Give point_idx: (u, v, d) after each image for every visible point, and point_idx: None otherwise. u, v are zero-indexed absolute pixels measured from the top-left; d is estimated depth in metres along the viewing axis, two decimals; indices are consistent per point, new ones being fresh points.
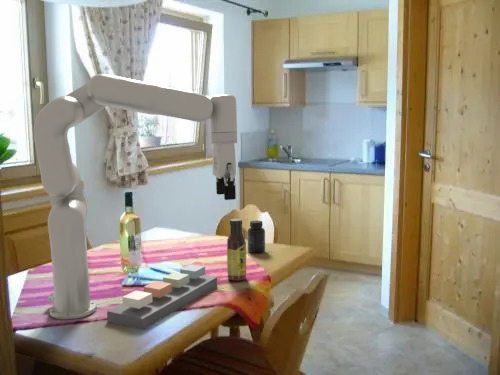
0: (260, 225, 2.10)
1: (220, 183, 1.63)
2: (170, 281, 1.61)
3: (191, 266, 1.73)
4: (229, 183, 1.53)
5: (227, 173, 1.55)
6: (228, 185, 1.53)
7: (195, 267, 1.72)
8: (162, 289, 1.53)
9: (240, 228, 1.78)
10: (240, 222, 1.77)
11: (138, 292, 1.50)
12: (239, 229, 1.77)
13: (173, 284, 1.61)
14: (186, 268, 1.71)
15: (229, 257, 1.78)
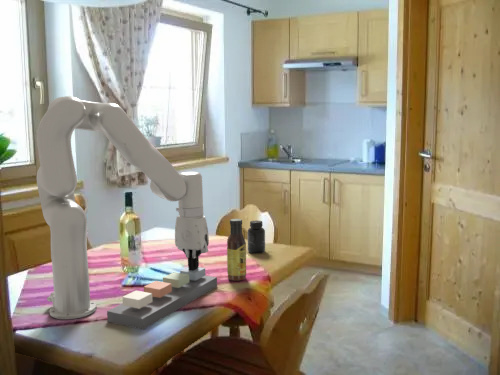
0: (260, 225, 2.10)
1: None
2: (170, 281, 1.61)
3: None
4: (198, 255, 1.69)
5: None
6: None
7: None
8: (162, 289, 1.53)
9: (240, 228, 1.78)
10: (240, 222, 1.77)
11: (138, 292, 1.50)
12: (239, 229, 1.77)
13: (173, 284, 1.61)
14: (186, 270, 1.71)
15: (229, 257, 1.78)
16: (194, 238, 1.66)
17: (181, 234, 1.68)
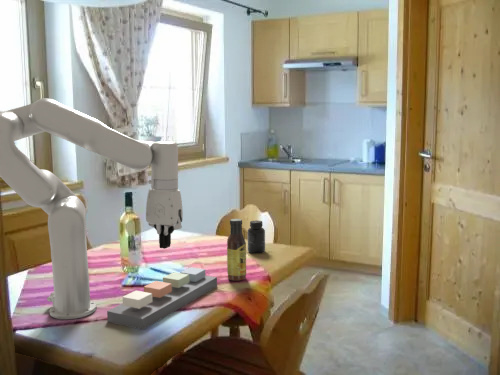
0: (260, 225, 2.10)
1: None
2: (170, 281, 1.61)
3: (191, 269, 1.73)
4: (170, 232, 1.56)
5: None
6: None
7: (195, 270, 1.72)
8: (162, 289, 1.53)
9: (240, 228, 1.78)
10: (240, 222, 1.77)
11: (138, 292, 1.50)
12: (239, 229, 1.77)
13: (173, 284, 1.61)
14: (186, 271, 1.71)
15: (229, 257, 1.78)
16: (167, 213, 1.53)
17: (153, 208, 1.55)
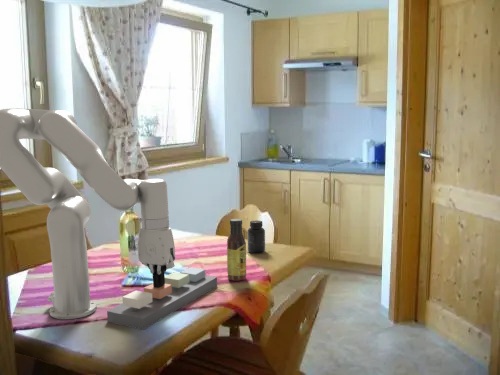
0: (260, 225, 2.10)
1: None
2: (170, 281, 1.61)
3: (191, 269, 1.73)
4: (163, 271, 1.53)
5: None
6: None
7: (195, 270, 1.72)
8: (162, 290, 1.53)
9: (240, 228, 1.78)
10: (240, 222, 1.77)
11: (138, 292, 1.50)
12: (239, 229, 1.77)
13: (173, 284, 1.61)
14: (186, 271, 1.71)
15: (229, 257, 1.78)
16: (158, 252, 1.50)
17: (144, 248, 1.52)
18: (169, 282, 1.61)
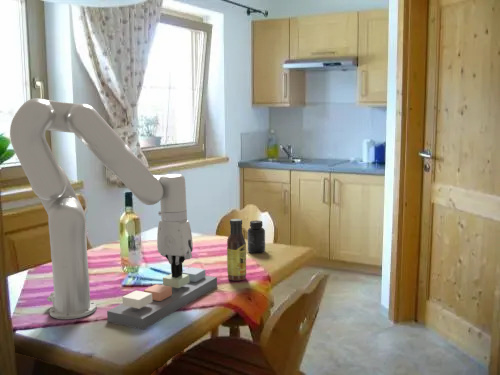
0: (260, 225, 2.10)
1: None
2: (170, 281, 1.61)
3: (191, 269, 1.73)
4: (181, 261, 1.61)
5: None
6: None
7: (195, 270, 1.72)
8: (162, 292, 1.53)
9: (240, 228, 1.78)
10: (240, 222, 1.77)
11: (138, 292, 1.50)
12: (239, 229, 1.77)
13: (173, 284, 1.61)
14: (186, 271, 1.71)
15: (229, 257, 1.78)
16: (177, 244, 1.58)
17: (164, 239, 1.60)
18: (169, 282, 1.61)
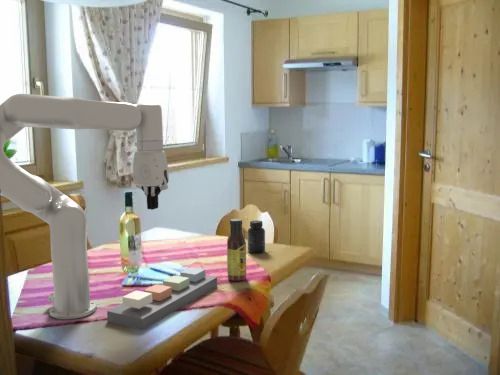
0: (260, 225, 2.10)
1: None
2: (170, 284, 1.61)
3: (191, 269, 1.73)
4: (157, 193, 1.59)
5: None
6: None
7: (195, 270, 1.72)
8: (162, 292, 1.53)
9: (240, 228, 1.78)
10: (240, 222, 1.77)
11: (138, 292, 1.50)
12: (239, 229, 1.77)
13: (173, 287, 1.61)
14: (186, 271, 1.71)
15: (229, 257, 1.78)
16: (152, 173, 1.56)
17: (139, 170, 1.58)
18: (169, 285, 1.61)
